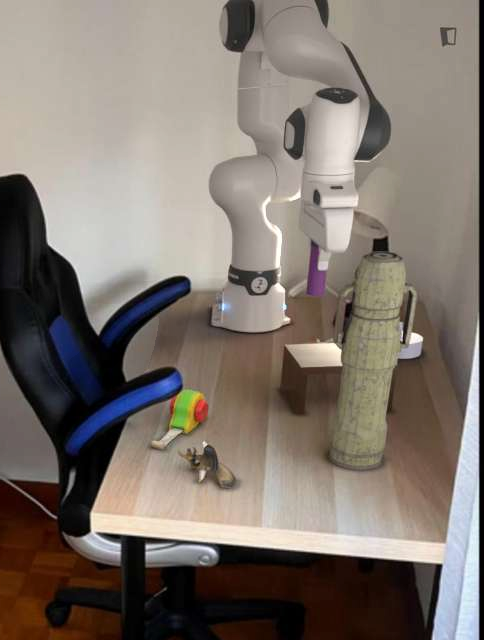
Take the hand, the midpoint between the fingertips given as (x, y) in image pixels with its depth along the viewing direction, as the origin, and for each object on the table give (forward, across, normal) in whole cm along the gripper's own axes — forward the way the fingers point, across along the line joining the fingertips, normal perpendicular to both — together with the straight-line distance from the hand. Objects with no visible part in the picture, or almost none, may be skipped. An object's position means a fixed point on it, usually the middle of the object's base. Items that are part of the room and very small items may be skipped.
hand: (318, 266), depth 178 cm
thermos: (+27, +27, +2) cm, 38 cm away
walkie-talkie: (+27, -21, +14) cm, 37 cm away
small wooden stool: (+26, 0, +6) cm, 27 cm away
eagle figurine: (+27, +33, -24) cm, 49 cm away
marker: (+5, 0, 0) cm, 5 cm away
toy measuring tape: (+27, +13, -26) cm, 39 cm away
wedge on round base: (+27, -27, +26) cm, 46 cm away
